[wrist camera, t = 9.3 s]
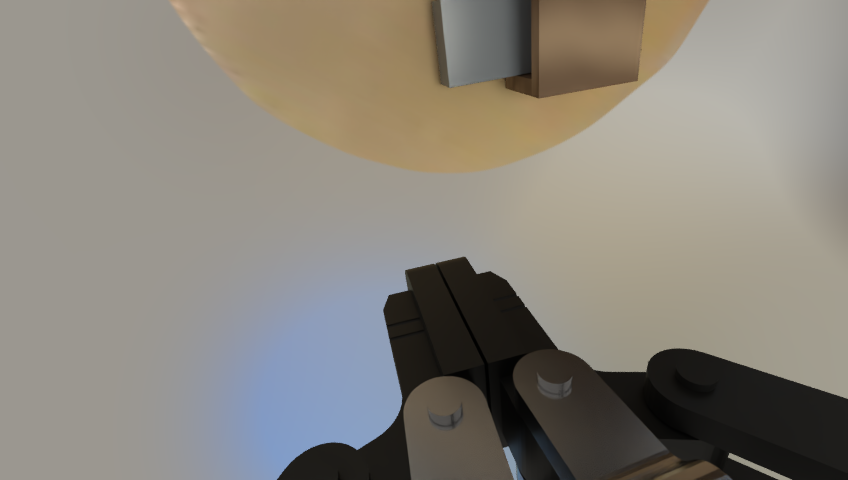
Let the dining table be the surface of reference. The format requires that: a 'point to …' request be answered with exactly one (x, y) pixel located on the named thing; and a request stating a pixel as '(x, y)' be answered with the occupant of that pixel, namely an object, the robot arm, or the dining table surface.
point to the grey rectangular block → (482, 39)
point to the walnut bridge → (581, 46)
